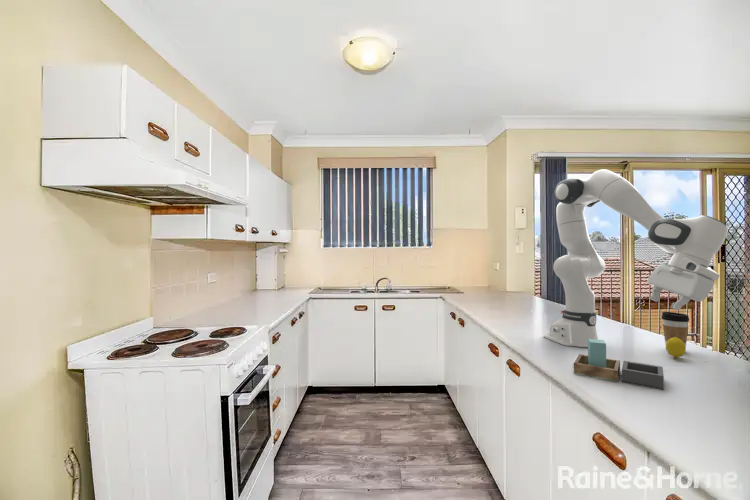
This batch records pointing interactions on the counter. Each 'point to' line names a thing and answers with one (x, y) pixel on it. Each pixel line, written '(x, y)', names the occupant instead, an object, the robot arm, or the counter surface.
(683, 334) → the coffee cup
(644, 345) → the counter surface
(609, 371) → the walled bay
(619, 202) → the robot arm
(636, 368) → the box
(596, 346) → the teal block
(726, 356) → the counter surface
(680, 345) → the lemon
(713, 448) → the counter surface
